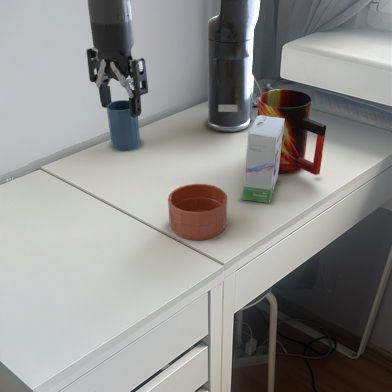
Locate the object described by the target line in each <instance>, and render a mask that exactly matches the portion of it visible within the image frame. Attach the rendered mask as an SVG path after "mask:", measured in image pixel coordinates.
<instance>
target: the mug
mask: <svg viewBox="0 0 392 392" xmlns="http://www.w3.org/2000/svg"><path fill="white" fill-rule="evenodd" d="M257 103H258V106H257V116H268V117H276V118H284V119H285V121H284V130H283V138H282V146H281V154H280V163H279V171H278V175H287V174H293V173H296V172H299V171H300V170H303V171H306V172H307V173H310V174H312V175H314V176H318V175H320V173H321V167H322V160H323V150H324V144H325V139H326V132H327V125H326V124H324V123H321V122H319V121H315V120H312V119H311V114H312V107H313V106H312V105H313V96H312V95H310V94H308V93H307V92H304V91H302V90H298V89H297V90H296V89H289V88H283V89H282V88H281V89H279V88H278V89H274V90H272V91H269V90H268V91H264V92H262V93H261V94H260V95H259V96H258V102H257ZM309 133H312V134H314V135H316V142H315V147H314V155H313V162H312V161H310V160H308V159H306V152H307V144H308V137H309Z"/></svg>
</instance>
